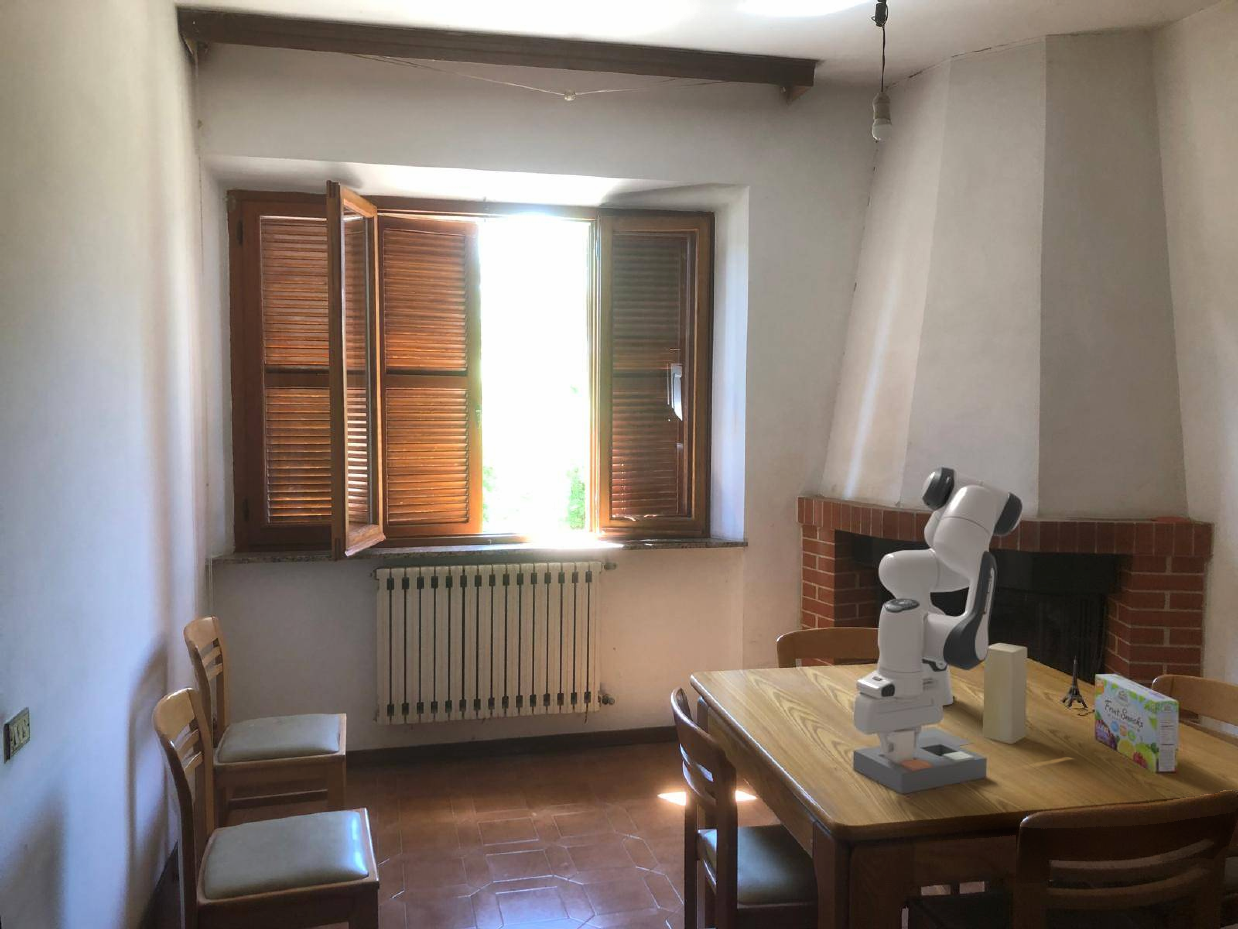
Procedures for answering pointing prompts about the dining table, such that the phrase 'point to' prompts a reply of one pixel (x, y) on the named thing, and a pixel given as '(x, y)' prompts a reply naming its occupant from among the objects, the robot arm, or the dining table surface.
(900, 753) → the plug
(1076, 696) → the eiffel tower figurine
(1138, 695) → the snack box
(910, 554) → the robot arm
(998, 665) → the tall beige block
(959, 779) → the socket block
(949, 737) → the rubber mat
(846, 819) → the dining table surface
